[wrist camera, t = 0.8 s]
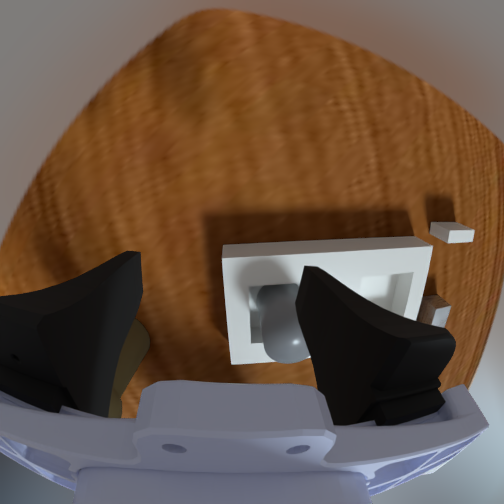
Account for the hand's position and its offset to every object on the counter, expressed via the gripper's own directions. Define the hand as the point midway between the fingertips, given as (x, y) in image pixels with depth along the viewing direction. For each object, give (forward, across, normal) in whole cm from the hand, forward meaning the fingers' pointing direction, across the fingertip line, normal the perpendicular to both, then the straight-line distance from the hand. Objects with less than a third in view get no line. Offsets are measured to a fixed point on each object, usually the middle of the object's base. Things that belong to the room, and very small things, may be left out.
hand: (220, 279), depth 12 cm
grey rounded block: (+9, -5, +7) cm, 13 cm away
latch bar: (+9, -24, +9) cm, 27 cm away
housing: (+10, -10, +6) cm, 15 cm away
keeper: (+10, -22, -1) cm, 24 cm away
